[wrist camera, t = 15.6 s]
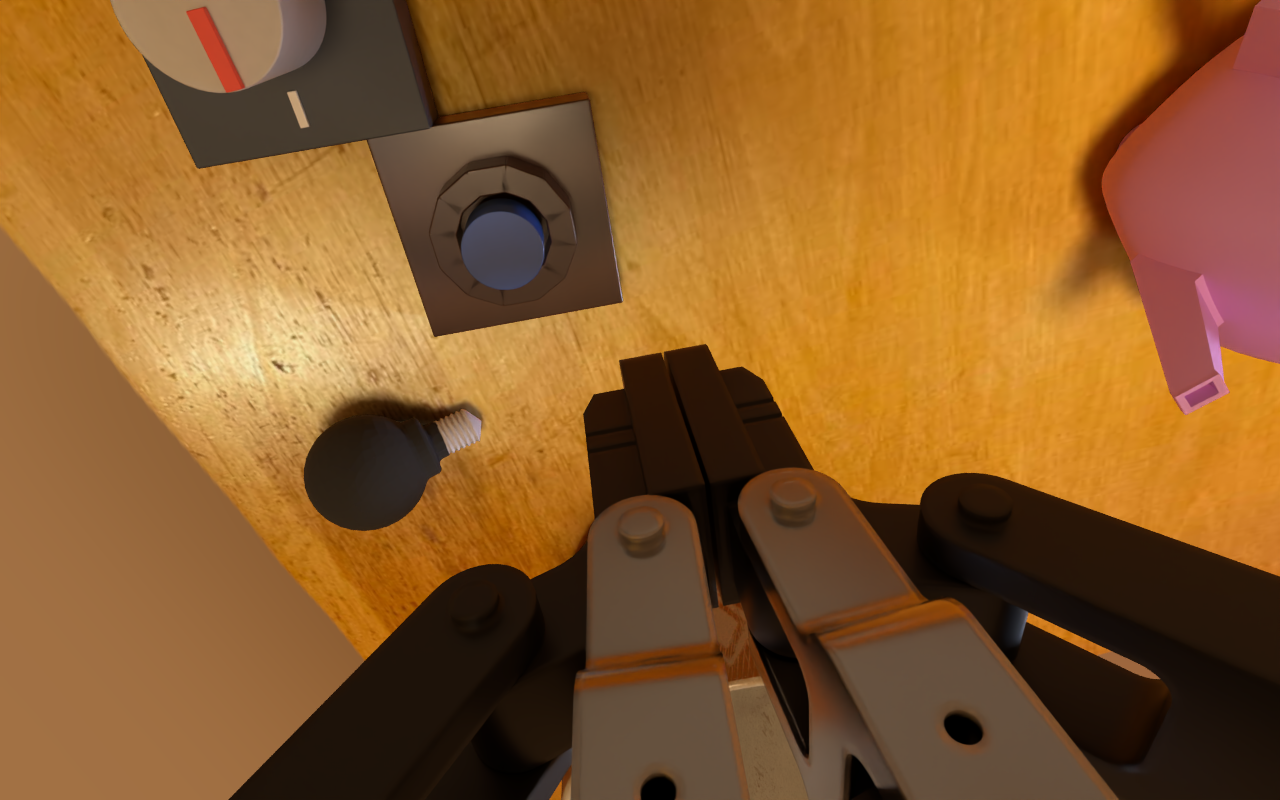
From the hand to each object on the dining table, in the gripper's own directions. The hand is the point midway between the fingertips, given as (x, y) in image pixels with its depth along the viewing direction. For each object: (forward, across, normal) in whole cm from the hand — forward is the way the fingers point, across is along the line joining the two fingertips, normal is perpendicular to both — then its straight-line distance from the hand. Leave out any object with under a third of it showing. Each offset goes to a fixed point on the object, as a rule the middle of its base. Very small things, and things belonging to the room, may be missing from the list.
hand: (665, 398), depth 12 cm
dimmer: (+22, +12, -7) cm, 26 cm away
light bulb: (+25, +14, +15) cm, 32 cm away
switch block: (+25, +4, +4) cm, 26 cm away
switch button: (+21, +4, +4) cm, 22 cm away
